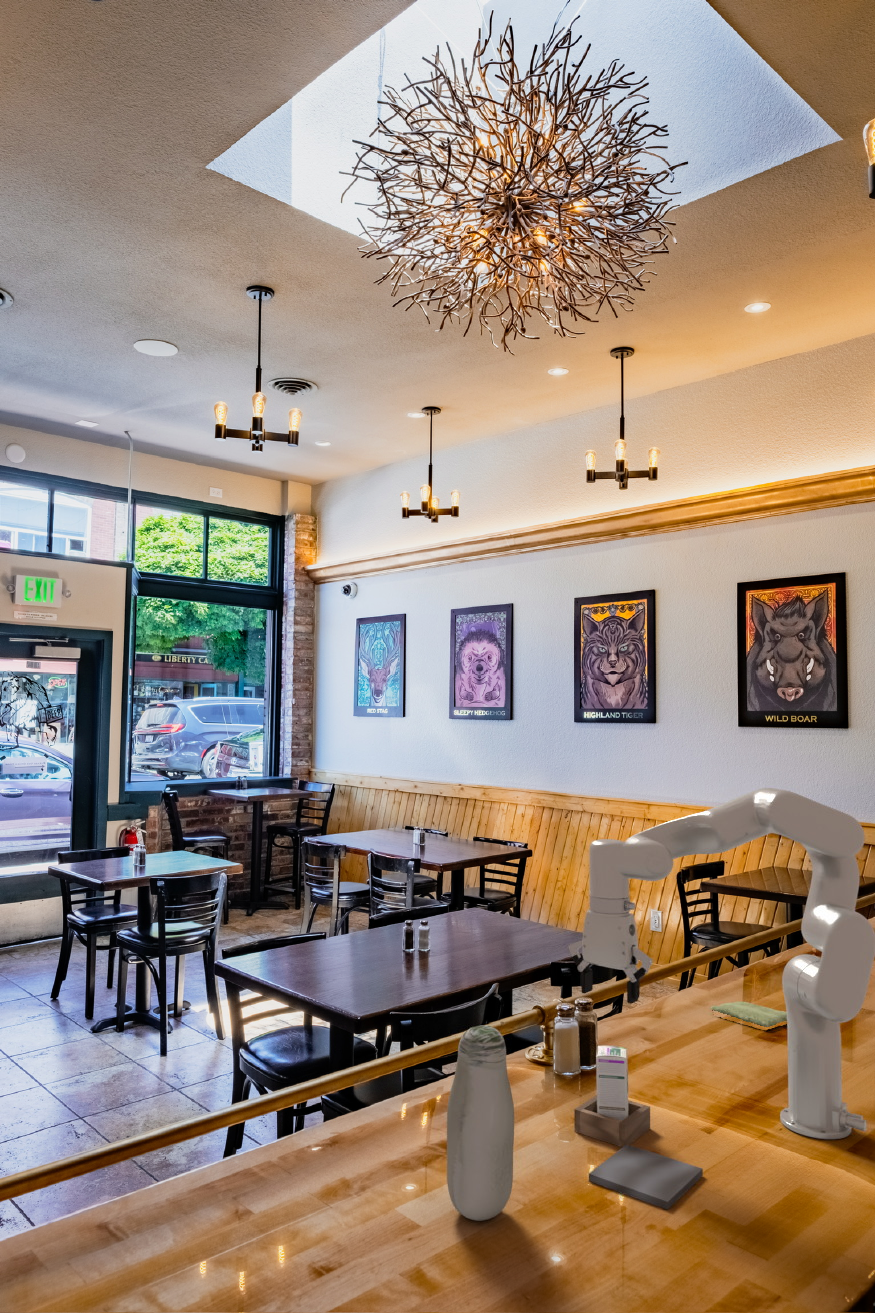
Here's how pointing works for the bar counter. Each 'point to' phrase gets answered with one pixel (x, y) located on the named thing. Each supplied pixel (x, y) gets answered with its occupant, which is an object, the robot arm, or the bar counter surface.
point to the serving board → (646, 1176)
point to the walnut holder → (612, 1123)
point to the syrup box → (612, 1082)
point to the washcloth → (752, 1013)
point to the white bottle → (480, 1126)
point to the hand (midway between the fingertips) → (609, 997)
